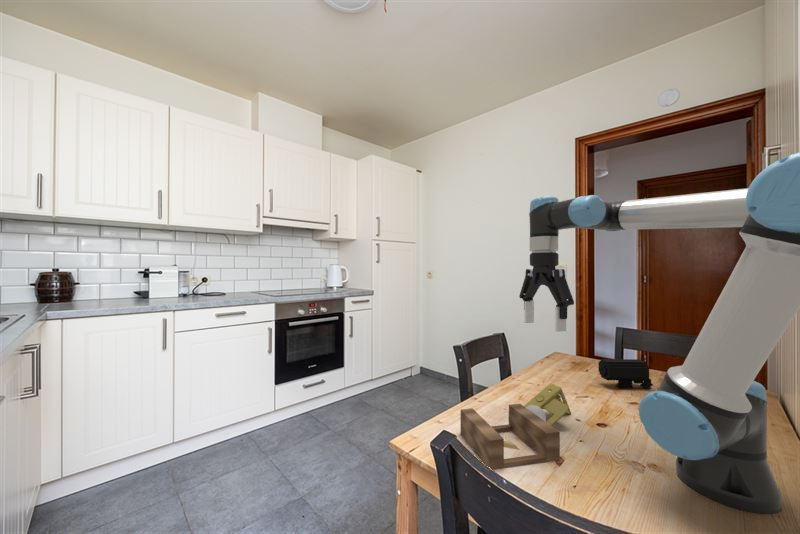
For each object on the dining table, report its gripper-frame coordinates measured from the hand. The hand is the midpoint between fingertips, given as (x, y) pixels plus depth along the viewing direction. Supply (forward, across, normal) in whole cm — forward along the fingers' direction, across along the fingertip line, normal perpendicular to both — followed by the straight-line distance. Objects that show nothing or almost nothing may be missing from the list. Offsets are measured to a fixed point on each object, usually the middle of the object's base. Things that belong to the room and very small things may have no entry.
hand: (543, 326), depth 91 cm
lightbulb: (+28, -9, +5) cm, 29 cm away
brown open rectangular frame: (+29, -7, +16) cm, 34 cm away
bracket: (+32, +3, -8) cm, 33 cm away
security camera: (+29, +21, -52) cm, 63 cm away
